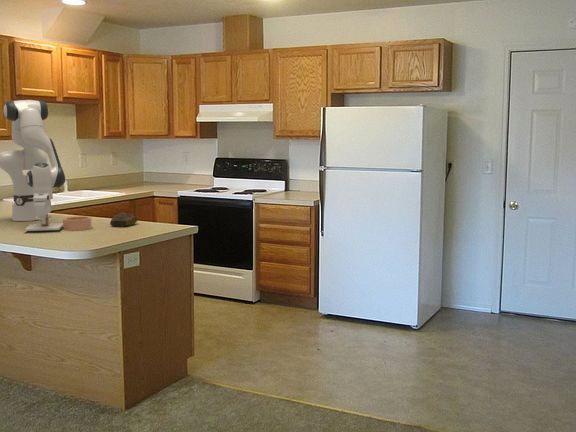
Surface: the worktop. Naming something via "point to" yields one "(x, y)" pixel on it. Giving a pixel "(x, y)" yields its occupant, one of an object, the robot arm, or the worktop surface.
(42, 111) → the robot arm
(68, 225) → the bowl
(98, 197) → the worktop surface
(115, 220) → the stone
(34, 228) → the white square lid
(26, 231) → the mat
